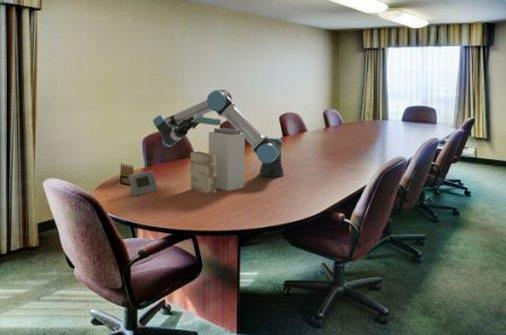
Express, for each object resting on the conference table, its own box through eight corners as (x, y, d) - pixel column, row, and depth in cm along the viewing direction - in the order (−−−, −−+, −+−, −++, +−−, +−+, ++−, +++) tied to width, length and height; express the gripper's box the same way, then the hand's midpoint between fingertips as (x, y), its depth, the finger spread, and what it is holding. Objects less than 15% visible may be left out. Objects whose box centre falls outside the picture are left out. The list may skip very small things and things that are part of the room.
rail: (193, 121, 262) (193, 116, 261) (220, 124, 245) (220, 119, 245) (189, 121, 260) (189, 116, 259) (216, 125, 243) (216, 119, 242)
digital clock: (133, 197, 229) (132, 176, 227) (124, 193, 236) (123, 173, 233) (161, 192, 240) (160, 172, 238) (152, 188, 246) (151, 169, 244)
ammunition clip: (135, 186, 251) (134, 164, 249) (132, 186, 250) (131, 165, 247) (122, 183, 257) (121, 162, 255) (119, 183, 255) (118, 163, 253)
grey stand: (225, 182, 263) (225, 127, 256) (244, 187, 252) (244, 129, 245) (208, 185, 254) (208, 128, 248) (227, 191, 243) (228, 131, 237)
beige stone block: (199, 187, 251) (199, 151, 247) (216, 192, 241) (216, 155, 237) (191, 188, 247) (190, 152, 242) (207, 194, 237) (207, 156, 233)
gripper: (192, 136, 276) (213, 120, 260) (169, 139, 265) (190, 121, 249) (188, 125, 278) (208, 108, 261) (165, 127, 267) (185, 109, 250)
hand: (199, 115), depth 255 cm, fingers closed on rail, 3 cm apart
